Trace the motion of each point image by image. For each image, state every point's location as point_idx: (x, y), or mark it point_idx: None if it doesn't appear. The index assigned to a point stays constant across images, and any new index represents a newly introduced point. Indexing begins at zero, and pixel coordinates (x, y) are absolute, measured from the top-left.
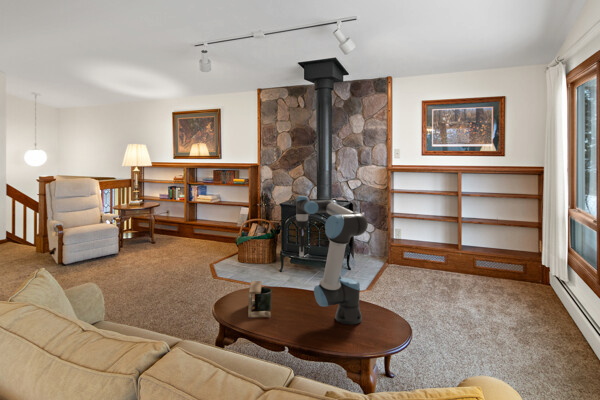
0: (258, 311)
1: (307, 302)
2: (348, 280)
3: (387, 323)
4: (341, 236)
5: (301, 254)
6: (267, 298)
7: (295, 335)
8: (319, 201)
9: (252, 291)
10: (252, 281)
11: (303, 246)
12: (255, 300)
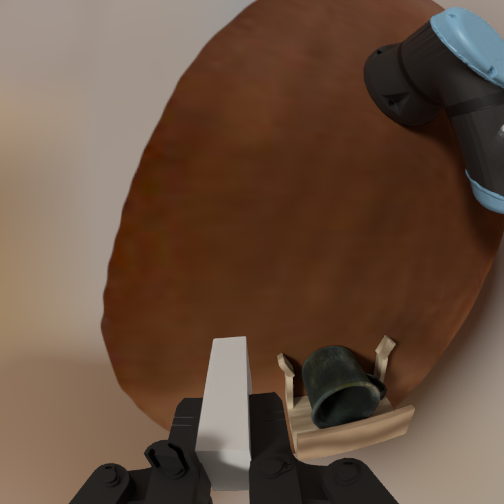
0: (381, 374)
1: (261, 214)
2: (492, 46)
3: (402, 6)
4: None
5: (249, 379)
6: (367, 377)
7: (476, 255)
8: None
9: (406, 427)
10: (302, 457)
11: (291, 462)
12: (348, 403)
